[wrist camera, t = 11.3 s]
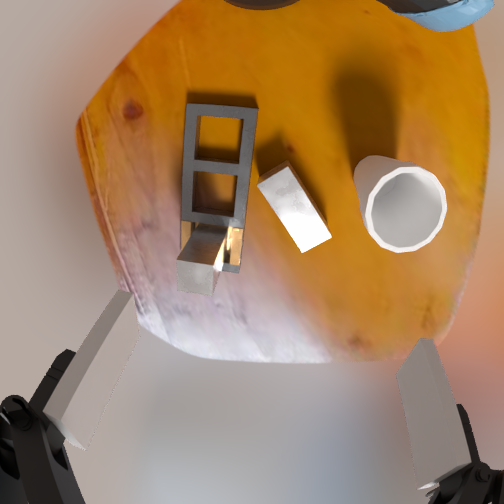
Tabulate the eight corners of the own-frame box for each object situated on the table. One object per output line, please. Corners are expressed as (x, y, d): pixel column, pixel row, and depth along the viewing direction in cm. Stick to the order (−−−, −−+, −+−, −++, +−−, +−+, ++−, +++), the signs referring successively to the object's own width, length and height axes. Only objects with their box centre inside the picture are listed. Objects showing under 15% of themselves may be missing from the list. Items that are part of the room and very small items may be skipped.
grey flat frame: (191, 103, 36) (186, 103, 34) (258, 108, 36) (257, 109, 34) (185, 257, 48) (181, 265, 46) (240, 266, 48) (238, 274, 46)
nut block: (259, 176, 41) (256, 185, 37) (287, 159, 39) (287, 166, 35) (300, 237, 44) (302, 252, 41) (327, 223, 43) (331, 236, 39)
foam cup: (360, 219, 42) (385, 266, 30) (329, 165, 39) (349, 196, 27) (414, 188, 38) (456, 226, 27) (387, 132, 35) (429, 150, 24)
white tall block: (199, 221, 44) (176, 259, 35) (229, 226, 44) (213, 265, 35) (198, 248, 47) (177, 290, 37) (227, 252, 46) (212, 296, 37)
